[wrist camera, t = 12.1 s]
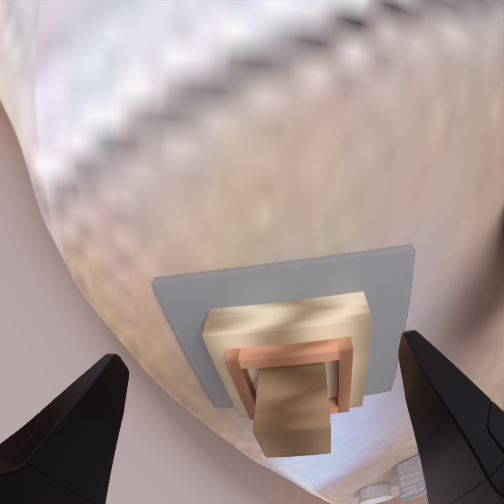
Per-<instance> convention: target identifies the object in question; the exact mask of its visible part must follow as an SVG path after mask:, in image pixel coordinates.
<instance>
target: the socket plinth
mask: <svg viewBox="0 0 504 504" xmlns="http://www.w3.org/2000/svg"><path fill="white" fill-rule="evenodd" d="M371 327H372V316H371V313H370V310H369V307H368V303H367V300H366V297H365V294H364V291H362V292H355V293H349V294H341V295H334V296H327V297H319V298H311V299H303V300H295V301H287V302H278V303H269V304H259V305H249V306H239V307H229V308H217V309H209V312H208V316H207V319H206V323H205V326H204V330H203V334H202V338H203V340H204V342H205V345H206V347H207V349H208V351H209V354H210V356H211V358H212V360H213V362H214V365H215V367H216V369H217V371H218V373H219V375H220V378H221V380H222V382H223V384H224V386H225V388H226V390H227V392H228V394H229V396H230V398H231V400H232V402H233V404H234V406H235V408H236V410H237V412H238V414H239V416H249V418H250V420H252V419H254V417H255V406H256V395H257V383H258V372H259V368H267V367H280V366H291V365H301V364H311V363H319V362H325V367H326V377H327V388H328V399H329V410H330V414H333V413H341V412H348V411H349V408H353V407H359V406H362V404H363V397H364V390H365V383H366V376H367V367H368V359H369V349H370V339H371Z"/></svg>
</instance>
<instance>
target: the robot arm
mask: <svg viewBox="0 0 504 504" xmlns="http://www.w3.org/2000/svg"><path fill="white" fill-rule="evenodd" d="M398 357H399V363H400V368H401V374H402V380H403V386H404V392H405V398H406V403H407V407H408V411H409V415H410V419H411V423H412V426H413V430H414V435H415V439H416V443H417V447H418V452H419V456H420V461H421V465H422V470H423V475H424V480H425V486H426V491H427V496H428V502H429V504H504V412H503V411H502V410H501V409H500V408H499V407H498V406H497V405H496V404H495V403H494V402H493V401H492V402H491V399H490V398H489V397H488V396H487V395H485V394H484V393H483V392H482V391H481V390H480V389H479V388H478V387H477V386H476V385H475V384H474V383H473V382H472V381H471V380H470V379H469V378H468V377H467V376H466V375H465V374H463V373H462V372H461V371H460V370H459V369H458V368H457V367H456V366H455V365H454V364H453V363H452V362H451V361H449V360H448V359H447V358H446V357H445V356H444V355H443V354H442V353H441V352H440V351H439V350H437V349H436V348H435V347H434V346H433V345H432V344H431V343H430V342H429V341H427V340H426V339H425V338H424V337H423V336H422V335H421V334H420V333H418V332H417V331H416V330H411V331H406V332H403V333H402V335H401V339H400V345H399V350H398ZM128 380H129V370H128V368H127V367H126V365H125V363H124V362H123V361H122V359H121V358H120V356H119V355H117V354H106V355H105V356H103V357H102V358H101V359H100V360H99V361H98V362H97V363H95V364H94V365H93V366H92V367H91V368H90V369H89V370H87V371H86V372H85V373H84V374H83V375H81V376H80V377H79V378H78V379H77V380H76V381H75V382H73V383H72V384H71V385H70V386H69V387H68V388H67V389H65V390H64V391H63V392H62V393H61V394H60V395H59V396H57V397H56V398H55V399H54V400H53V401H52V402H51V403H49V404H48V405H47V406H46V407H45V408H44V409H43V410H42V411H41V412H40V413H38V414H37V415H36V416H35V417H34V418H32V419H31V420H30V421H29V422H28V423H27V424H25V425H24V426H23V427H22V428H20V429H19V430H18V431H17V432H15V433H14V434H13V435H11V436H10V437H9V438H7V439H6V440H5V441H3V442H2V443H1V444H0V504H105V503H106V496H107V491H108V486H109V480H110V475H111V469H112V464H113V458H114V454H115V450H116V445H117V440H118V435H119V431H120V427H121V422H122V418H123V413H124V408H125V401H126V393H127V387H128Z"/></svg>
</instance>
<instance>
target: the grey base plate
mask: <svg viewBox="0 0 504 504" xmlns="http://www.w3.org/2000/svg"><path fill="white" fill-rule="evenodd" d="M414 258H415V249H414V248H413V246H412V245H406V246H399V247H392V248H385V249H378V250H371V251H364V252H356V253H349V254H342V255H334V256H327V257H319V258H312V259H304V260H297V261H289V262H281V263H273V264H266V265H258V266H250V267H242V268H234V269H225V270H217V271H209V272H201V273H192V274H184V275H175V276H167V277H158V278H154V280H153V282H152V286H153V288H154V291H155V293H156V295H157V297H158V299H159V302H160V304H161V306H162V308H163V310H164V312H165V314H166V316H167V319H168V321H169V323H170V325H171V327H172V329H173V331H174V333H175V335H176V337H177V339H178V341H179V343H180V345H181V347H182V349H183V351H184V353H185V354H186V356H187V358H188V360H189V362H190V364H191V366H192V368H193V370H194V371H195V373H196V375H197V377H198V379H199V381H200V382H201V384H202V386H203V388H204V389H205V391H206V393H207V395H208V397H209V398H210V400H211V402H212V403H213V405H214V407H235V406H234V404H233V402H232V400H231V398H230V396H229V394H228V392H227V390H226V388H225V386H224V384H223V382H222V380H221V378H220V375H219V373H218V371H217V369H216V367H215V365H214V362H213V360H212V358H211V356H210V354H209V351H208V349H207V347H206V345H205V342H204V340H203V338H202V334H203V330H204V326H205V323H206V319H207V316H208V312H209V309H217V308H229V307H239V306H249V305H259V304H269V303H278V302H287V301H295V300H303V299H311V298H319V297H327V296H334V295H341V294H349V293H355V292H362V291H364V294H365V297H366V300H367V303H368V307H369V310H370V313H371V316H372V327H371V339H370V349H369V359H368V367H367V376H366V383H365V390H364V395H370V394H376V393H381V392H387V391H391V389H392V385H393V382H394V378H395V373H396V369H397V365H398V360H399V357H398V350H399V345H400V339H401V335H402V333H403V332H404V331H405V325H406V319H407V313H408V307H409V300H410V293H411V285H412V277H413V268H414Z"/></svg>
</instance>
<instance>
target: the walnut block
mask: <svg viewBox="0 0 504 504" xmlns="http://www.w3.org/2000/svg"><path fill="white" fill-rule="evenodd" d="M253 433H254V435H255V437H256V439H257V441H258V443H259V445H260V447H261V449H262V451H263V453H264V455H265V457H291V456H306V455H317V454H327V453H331V423H330V410H329V399H328V388H327V377H326V367H325V362H319V363H311V364H301V365H291V366H280V367H267V368H259V372H258V383H257V395H256V406H255V417H254V428H253Z"/></svg>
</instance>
